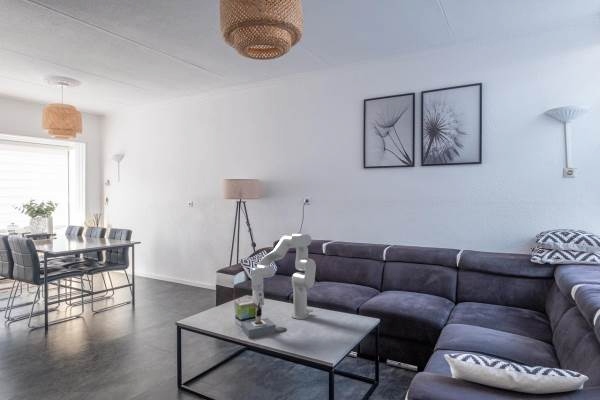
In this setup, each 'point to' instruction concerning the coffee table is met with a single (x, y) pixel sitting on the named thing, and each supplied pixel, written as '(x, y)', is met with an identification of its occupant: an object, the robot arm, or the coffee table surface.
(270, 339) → the coffee table surface
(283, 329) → the coaster
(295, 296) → the robot arm
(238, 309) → the tea box
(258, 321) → the stylus
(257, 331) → the grey socket block
